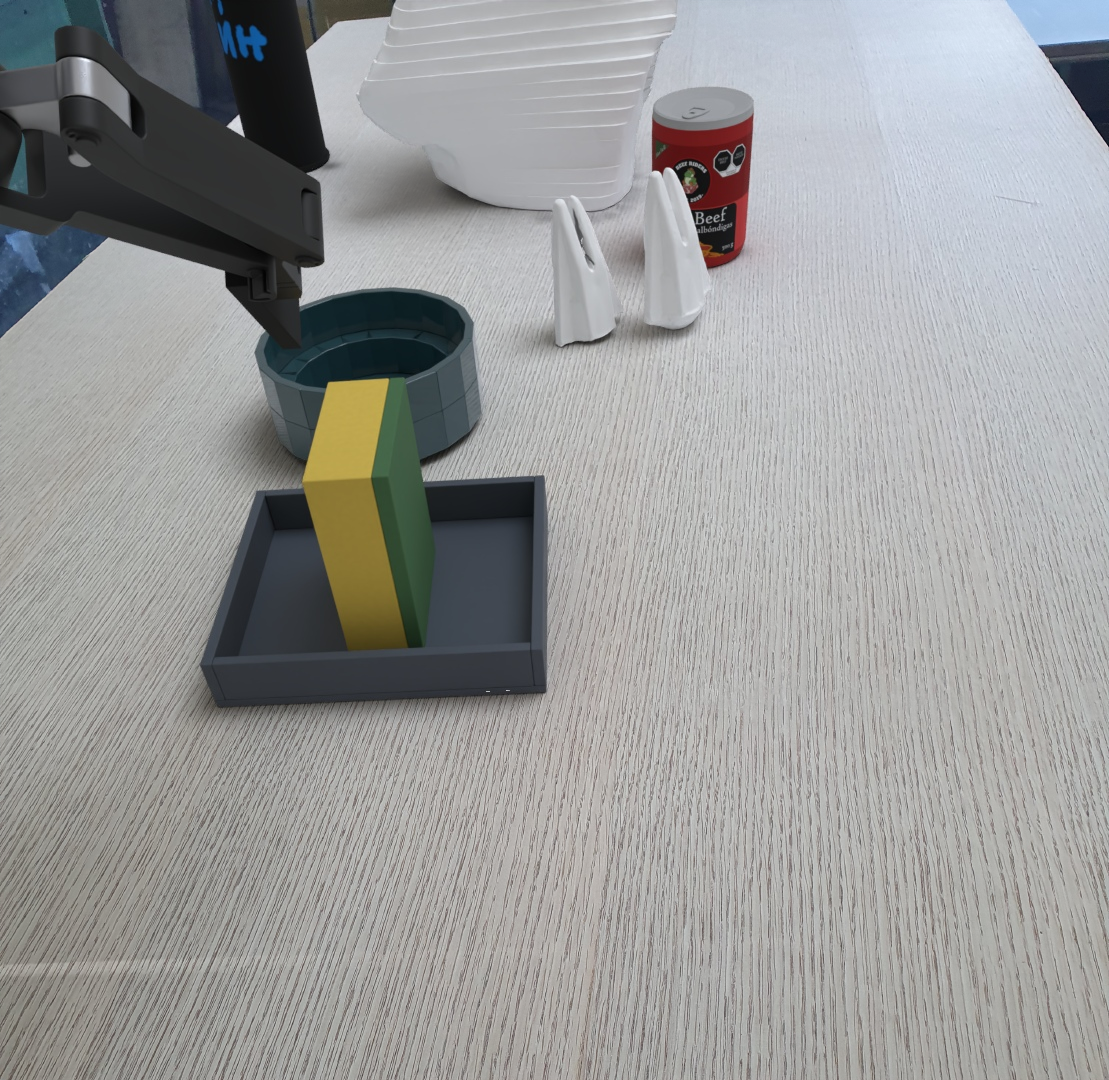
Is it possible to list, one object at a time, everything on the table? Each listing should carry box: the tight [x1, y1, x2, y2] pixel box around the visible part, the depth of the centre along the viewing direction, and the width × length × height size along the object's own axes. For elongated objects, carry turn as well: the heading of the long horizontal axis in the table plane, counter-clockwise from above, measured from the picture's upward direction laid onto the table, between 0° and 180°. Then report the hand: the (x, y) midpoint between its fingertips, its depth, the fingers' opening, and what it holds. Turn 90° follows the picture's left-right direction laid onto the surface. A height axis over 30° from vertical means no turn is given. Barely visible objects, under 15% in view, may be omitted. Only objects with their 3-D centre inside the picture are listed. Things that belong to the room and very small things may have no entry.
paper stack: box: [355, 0, 678, 212], centre depth 94 cm, size 21×27×26 cm
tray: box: [199, 474, 549, 708], centre depth 60 cm, size 17×15×3 cm
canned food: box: [651, 86, 755, 269], centre depth 86 cm, size 8×8×11 cm
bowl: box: [254, 286, 484, 462], centre depth 72 cm, size 14×14×6 cm
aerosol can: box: [209, 0, 331, 173], centre depth 103 cm, size 8×8×20 cm
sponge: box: [301, 377, 435, 651], centre depth 56 cm, size 4×9×11 cm, turn 0°
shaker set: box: [550, 168, 713, 348], centre depth 77 cm, size 12×4×11 cm, turn 93°
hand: (122, 325), depth 43 cm, fingers open, 13 cm apart
